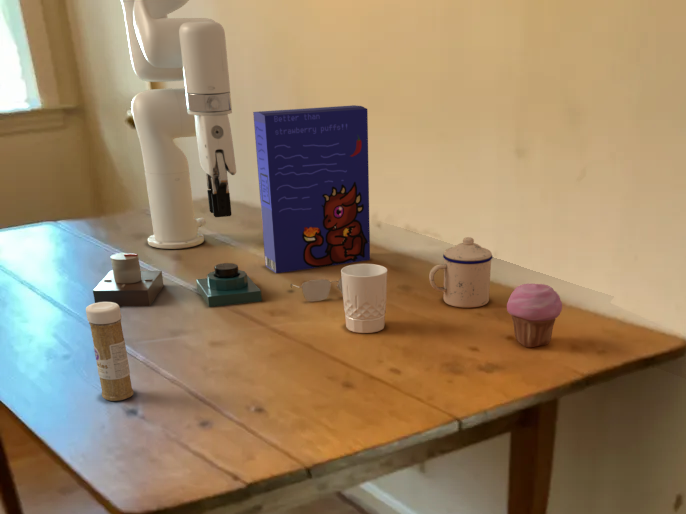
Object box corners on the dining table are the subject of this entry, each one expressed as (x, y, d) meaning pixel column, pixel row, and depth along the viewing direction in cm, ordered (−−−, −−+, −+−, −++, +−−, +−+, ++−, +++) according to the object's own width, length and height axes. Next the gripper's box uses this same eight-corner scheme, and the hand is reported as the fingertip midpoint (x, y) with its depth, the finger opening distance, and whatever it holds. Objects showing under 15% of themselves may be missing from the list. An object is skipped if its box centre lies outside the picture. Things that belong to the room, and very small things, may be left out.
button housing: (197, 289, 177) (194, 268, 175) (247, 284, 180) (245, 263, 178) (209, 307, 167) (206, 285, 165) (262, 301, 170) (260, 280, 168)
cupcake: (523, 355, 146) (528, 294, 141) (495, 339, 153) (498, 280, 148) (568, 347, 150) (574, 287, 145) (538, 331, 156) (543, 273, 151)
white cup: (394, 322, 160) (393, 265, 155) (378, 337, 154) (377, 278, 148) (352, 317, 162) (351, 261, 157) (335, 331, 156) (333, 273, 151)
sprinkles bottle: (96, 396, 132) (78, 306, 125) (122, 387, 135) (106, 298, 128) (114, 404, 129) (97, 313, 122) (140, 395, 132) (125, 305, 125)
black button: (213, 274, 173) (212, 264, 172) (236, 272, 174) (235, 262, 173) (217, 280, 169) (216, 270, 168) (241, 278, 171) (240, 268, 169)
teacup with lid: (478, 292, 176) (481, 230, 169) (497, 305, 168) (501, 242, 162) (420, 298, 172) (421, 235, 166) (437, 312, 165) (439, 247, 159)
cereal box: (357, 253, 199) (354, 104, 183) (370, 259, 195) (367, 107, 179) (265, 266, 190) (253, 110, 174) (276, 273, 186) (264, 114, 170)
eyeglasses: (300, 303, 169) (298, 281, 167) (289, 294, 176) (287, 273, 174) (370, 295, 174) (369, 273, 172) (356, 286, 180) (355, 266, 179)
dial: (112, 284, 169) (107, 258, 167) (117, 276, 173) (113, 251, 171) (139, 283, 169) (135, 257, 167) (143, 276, 174) (140, 250, 171)
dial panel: (113, 286, 178) (110, 270, 177) (163, 285, 179) (161, 269, 177) (95, 306, 167) (92, 289, 166) (149, 306, 168) (147, 289, 166)
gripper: (241, 108, 150) (251, 222, 160) (221, 97, 163) (231, 203, 173) (196, 110, 148) (208, 225, 158) (179, 99, 161) (192, 206, 171)
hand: (220, 213), depth 165 cm, fingers closed
